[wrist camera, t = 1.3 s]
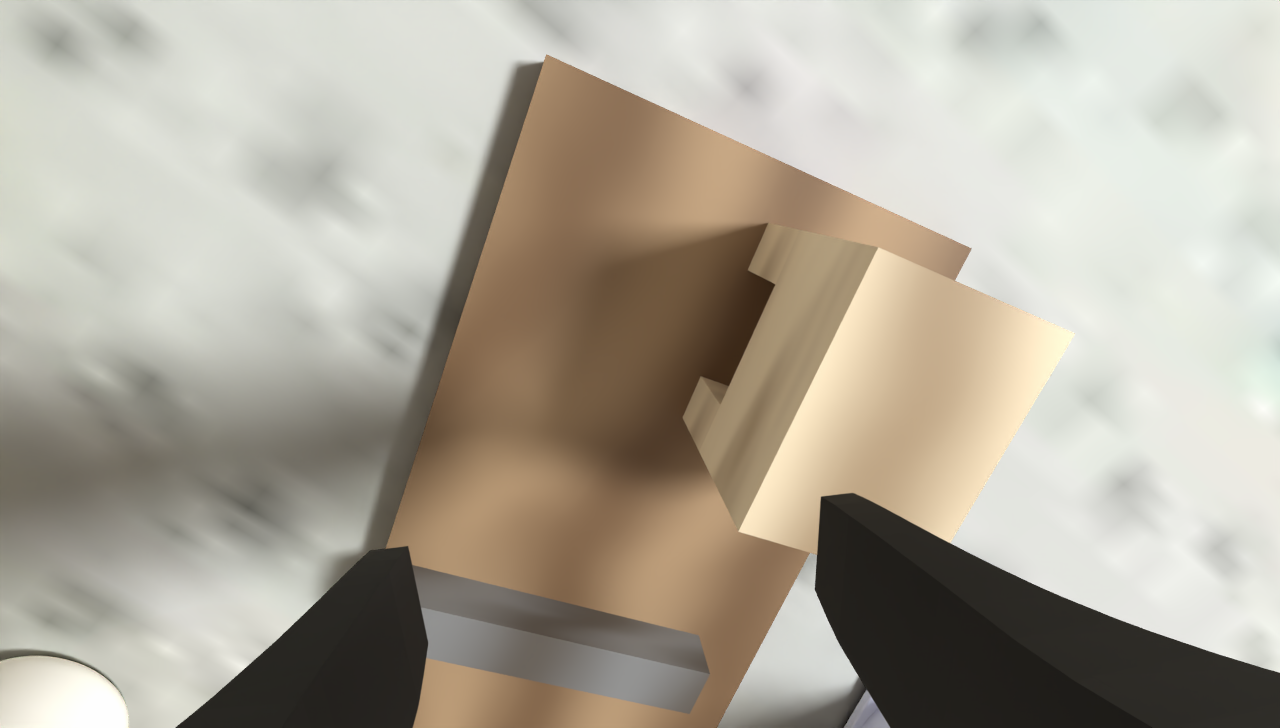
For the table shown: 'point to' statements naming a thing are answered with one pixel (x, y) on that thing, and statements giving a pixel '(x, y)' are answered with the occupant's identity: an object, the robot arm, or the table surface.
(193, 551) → the table surface
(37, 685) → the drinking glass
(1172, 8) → the table surface
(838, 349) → the slotted block
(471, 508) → the board
